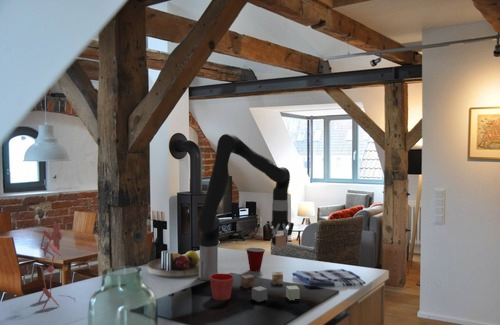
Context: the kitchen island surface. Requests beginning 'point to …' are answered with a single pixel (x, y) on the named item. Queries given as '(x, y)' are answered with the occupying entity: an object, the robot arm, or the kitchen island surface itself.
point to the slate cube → (259, 293)
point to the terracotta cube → (280, 240)
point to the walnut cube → (247, 281)
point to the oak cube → (277, 278)
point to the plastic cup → (255, 258)
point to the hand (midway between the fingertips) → (279, 244)
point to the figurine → (56, 238)
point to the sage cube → (292, 292)
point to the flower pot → (221, 286)
